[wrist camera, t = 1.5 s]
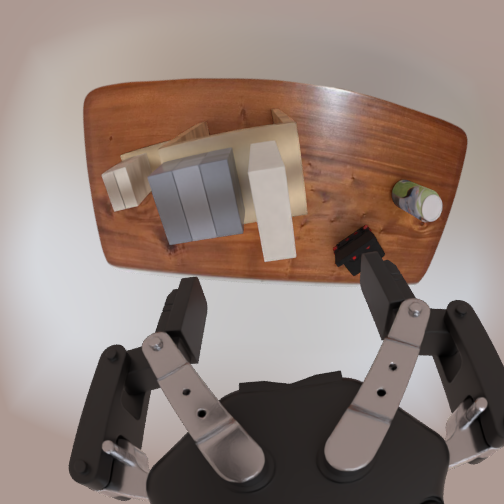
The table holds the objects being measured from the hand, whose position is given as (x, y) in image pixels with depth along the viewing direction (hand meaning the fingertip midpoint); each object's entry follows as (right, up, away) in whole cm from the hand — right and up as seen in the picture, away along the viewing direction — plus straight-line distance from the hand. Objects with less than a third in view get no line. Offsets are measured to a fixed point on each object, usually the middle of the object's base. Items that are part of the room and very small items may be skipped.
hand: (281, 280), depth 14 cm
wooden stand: (-3, +21, +35) cm, 41 cm away
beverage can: (+30, +14, +39) cm, 51 cm away
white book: (0, +9, +14) cm, 17 cm away
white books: (-18, +18, +37) cm, 45 cm away
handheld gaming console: (+21, +3, +46) cm, 51 cm away
